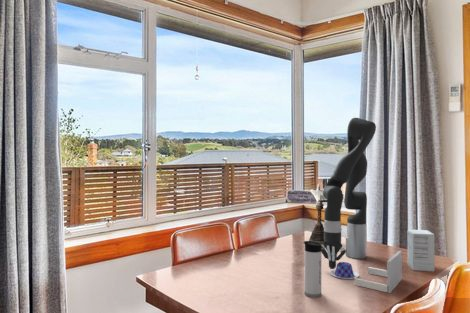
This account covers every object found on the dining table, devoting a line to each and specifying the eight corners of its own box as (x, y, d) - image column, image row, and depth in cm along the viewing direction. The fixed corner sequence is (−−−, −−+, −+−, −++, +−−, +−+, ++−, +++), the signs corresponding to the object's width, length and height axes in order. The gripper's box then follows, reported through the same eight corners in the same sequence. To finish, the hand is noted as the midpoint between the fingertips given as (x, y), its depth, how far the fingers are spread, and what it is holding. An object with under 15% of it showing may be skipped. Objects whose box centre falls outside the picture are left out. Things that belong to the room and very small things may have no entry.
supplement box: (435, 271, 158) (435, 234, 158) (412, 270, 160) (412, 233, 160) (427, 265, 168) (428, 229, 167) (406, 263, 170) (407, 228, 169)
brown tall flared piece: (340, 245, 203) (340, 184, 202) (319, 247, 199) (319, 185, 199) (325, 238, 219) (325, 182, 218) (306, 239, 215) (306, 182, 215)
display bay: (354, 284, 143) (354, 255, 143) (368, 272, 158) (369, 245, 158) (390, 293, 135) (390, 261, 135) (401, 279, 150) (401, 250, 149)
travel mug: (301, 291, 137) (301, 239, 137) (318, 290, 138) (318, 239, 137) (306, 297, 131) (306, 243, 131) (323, 297, 131) (323, 243, 131)
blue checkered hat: (324, 273, 158) (324, 261, 158) (345, 269, 163) (345, 258, 163) (343, 282, 147) (343, 269, 147) (365, 278, 152) (365, 265, 152)
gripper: (315, 229, 159) (315, 267, 160) (343, 233, 151) (343, 274, 152) (322, 226, 165) (322, 263, 166) (350, 230, 157) (350, 269, 157)
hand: (332, 268), depth 159 cm, fingers closed
